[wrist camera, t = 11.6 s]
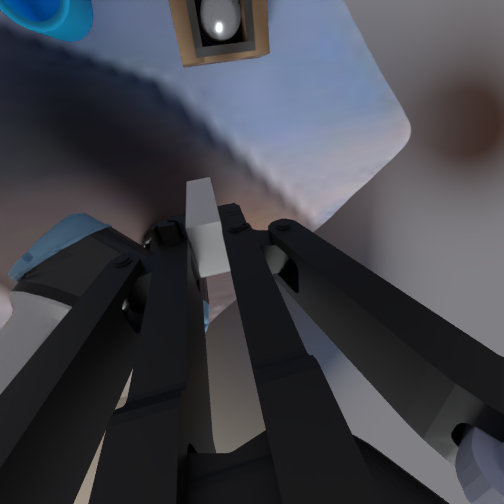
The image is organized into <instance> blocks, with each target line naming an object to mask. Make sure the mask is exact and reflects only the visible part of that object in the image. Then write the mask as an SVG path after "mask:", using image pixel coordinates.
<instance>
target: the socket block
mask: <svg viewBox="0 0 504 504" xmlns="http://www.w3.org/2000/svg"><path fill="white" fill-rule="evenodd" d="M238 3H239V6H240V11H241V19H240V24H239V27H238V29H237V34H238V43H232V44H224V45H216V46H208V47H202V42H201V36H200V30H199V25H198V19H197V13H196V7H195V2H194V0H169V4H170V9H171V14H172V18H173V23H174V28H175V32H176V37H177V41H178V46H179V51H180V55H181V60H182V64H183V67H191V66H199V65H206V64H214V63H221V62H229V61H237V60H244V59H252V58H259V57H262V56H264V55H267V54H269V53H270V49H269V32H268V15H267V0H238Z"/></svg>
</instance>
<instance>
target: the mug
mask: <svg viewBox="0 0 504 504" xmlns="http://www.w3.org/2000/svg"><path fill="white" fill-rule="evenodd" d="M0 10H1V11H2V12H3V13H4V14H6V15H7V16H8V17H9V18H11V19H12V20H13V21H14V22H16V23H17V24H19V25H21V26H23V27H25V28H27V29H29V30H32V31H35V32H38V33H41V34H44V35H47V36H50V37H53V38H56V39H59V40H63V41H69V42H72V41H77V40H81V39H82V38H83V37H85V36H86V35H87V34H88V32H89V30H90V28H91V27H92V20H93V10H92V3H91V0H0Z"/></svg>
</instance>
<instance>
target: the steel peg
mask: <svg viewBox="0 0 504 504" xmlns="http://www.w3.org/2000/svg"><path fill="white" fill-rule="evenodd" d="M240 19H241V11H240V6H239V3H238V0H202V2H201V8H200V17H199V25H200V30H201V33H202V35H203V37H204V38H205V39H206V40H207V41H208V42H209V43H210V44H212V45H214V46H216V45H224V44H226V43H227V42H228V41H229V40H230V39H231V37H232V36H233V35H234V34H235V33H236V31H237V29H238V27H239V24H240Z"/></svg>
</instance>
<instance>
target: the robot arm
mask: <svg viewBox="0 0 504 504" xmlns="http://www.w3.org/2000/svg"><path fill="white" fill-rule="evenodd" d="M228 271H231V275H232V280H233V284H234V289H235V293H236V297H237V302H238V306H239V311H240V315H241V320H242V324H243V328H244V333H245V338H246V342H247V347H248V351H249V355H250V360H251V364H252V369H253V374H254V378H255V382H256V387H257V392H258V396H259V401H260V405H261V410H262V414H263V419H264V423H265V427H266V430H265V431H264V432H262V433H261V434H259V435H258V436H256V437H254V438H253V439H251V440H250V441H249V442H247V443H245V444H244V445H242V446H241V447H239V448H238V449H236V450H235V451H233V452H230V453H216V450H215V446H214V442H213V434H212V421H211V407H210V394H209V379H208V366H207V353H206V352H207V350H206V337H205V332H206V331H207V328H208V324H209V312H210V307H209V300H208V290H207V281H206V277H207V276H211V275H215V274H220V273H224V272H228ZM272 273H273V275H272ZM273 276H274V277H273ZM9 277H10V278H11V279H12V281H13V282H19V283H18V284H17V285H16V286H15V288H14V289H13V290H12V291H11V292H10V294H9V299H10V302H11V305H12V308H13V312H12V316H11V317H10V318H9V320H8V321H7V322H6V323H5V325H4V326H3V327H2V329H1V330H0V504H73V503H74V501H75V499H76V496H77V494H78V492H79V490H80V487H81V485H82V483H83V481H84V478H85V476H86V474H87V471H88V469H89V467H90V465H91V462H92V460H93V458H94V456H95V453H96V451H97V449H98V446H99V444H100V442H101V440H102V437H103V435H104V433H105V431H106V433H105V437H104V441H103V445H102V449H101V453H100V457H99V462H98V466H97V470H96V474H95V479H94V483H93V487H92V491H91V495H90V499H89V503H88V504H449V503H448V502H446V501H445V500H444V499H443V498H441V497H440V496H438V495H437V494H436V493H434V492H433V491H432V490H430V489H429V488H428V487H426V486H425V485H424V484H422V483H421V482H420V481H418V480H417V479H416V478H414V477H413V476H412V475H410V474H409V473H408V472H406V471H405V470H404V469H402V468H401V467H400V466H398V465H397V464H396V463H394V462H393V461H392V460H390V459H389V458H388V457H386V456H385V455H384V454H382V453H381V452H380V451H378V450H377V449H375V448H374V447H373V446H371V445H370V444H369V443H367V442H365V441H363V440H362V439H360V438H358V437H356V436H354V435H352V433H351V431H350V429H349V427H348V425H347V423H346V420H345V419H344V416H343V414H342V412H341V410H340V408H339V406H338V404H337V402H336V399H335V397H334V395H333V393H332V391H331V388H330V386H329V384H328V382H327V380H326V378H325V376H324V373H323V371H322V369H321V367H320V365H319V363H318V362H317V360H316V358H315V357H314V356H313V355H309V354H308V353H307V351H306V349H305V347H304V345H303V343H302V340H301V338H300V336H299V334H298V331H297V329H296V327H295V325H294V322H293V320H292V318H291V316H290V313H289V311H288V309H287V306H286V304H285V302H284V300H283V298H282V295H281V293H280V291H279V288H278V286H277V284H276V282H275V279H276V280H277V281H278V282H279V283H280V285H281V286H282V287H283V288H284V289H285V290H286V291H287V292H288V293H289V294H290V296H291V297H292V298H293V299H294V300H295V301H296V302H297V303H298V304H299V305H300V307H301V308H303V310H304V311H305V312H306V313H307V314H308V315H309V316H310V317H311V319H312V320H313V321H314V322H315V323H316V324H317V325H318V326H319V327H320V328H321V329H322V330H323V332H324V333H325V334H326V335H327V336H328V337H329V338H330V339H331V340H332V342H333V343H334V344H335V345H336V346H337V347H338V348H339V349H340V350H341V351H342V353H344V355H345V356H346V357H347V358H348V359H349V360H350V361H351V362H352V363H353V365H354V366H355V367H356V368H357V369H358V370H359V371H360V372H361V373H362V374H363V375H364V377H365V378H366V379H367V380H368V381H369V382H370V383H371V384H372V385H373V386H374V388H375V389H376V390H377V391H378V392H379V393H380V394H381V395H382V396H383V397H384V399H385V400H386V401H387V402H388V403H389V404H390V405H391V406H392V407H393V408H394V409H395V411H396V412H397V413H398V414H399V415H400V416H401V417H402V418H403V419H404V420H405V421H406V422H407V423H408V424H409V425H410V427H411V428H413V430H414V431H416V433H417V434H418V435H420V437H421V438H422V439H423V440H425V441H426V442H427V443H428V444H429V445H430V446H431V447H433V448H434V449H435V450H436V451H437V452H439V454H441V455H442V456H443V457H444V458H445V459H446V460H448V461H449V462H450V463H452V464H453V465H454V466H455V468H456V472H457V477H458V479H459V481H460V483H461V486H462V488H463V491H464V493H465V495H466V498H467V499H468V501H469V502H470V503H471V504H504V357H502V356H500V355H498V354H496V353H495V352H493V351H492V350H490V349H489V348H487V347H486V346H484V345H483V344H481V343H480V342H478V341H477V340H475V339H474V338H472V337H470V336H469V335H468V334H466V333H464V332H463V331H462V330H460V329H459V328H457V327H455V326H454V325H452V324H451V323H449V322H448V321H446V320H445V319H443V318H442V317H440V316H439V315H437V314H436V313H434V312H433V311H431V310H430V309H428V308H427V307H425V306H424V305H422V304H420V303H419V302H418V301H416V300H415V299H413V298H411V297H410V296H408V295H407V294H405V293H404V292H402V291H401V290H399V289H398V288H396V287H395V286H393V285H391V284H390V283H389V282H387V281H386V280H384V279H383V278H381V277H380V276H378V275H377V274H375V273H373V272H372V271H371V270H369V269H367V268H366V267H364V266H363V265H361V264H360V263H358V262H357V261H355V260H354V259H352V258H351V257H349V256H348V255H346V254H345V253H343V252H342V251H340V250H339V249H337V248H336V247H334V246H333V245H331V244H330V243H328V242H326V241H325V240H323V239H322V238H320V237H319V236H317V235H316V234H314V233H313V232H311V231H310V230H308V229H307V228H305V227H304V226H302V225H301V224H299V223H298V222H296V221H294V220H290V219H279V220H276V221H274V222H272V223H271V224H270V225H269V226H268V230H254V229H252V227H251V225H250V224H249V223H246V220H245V218H244V216H243V214H242V211H241V209H240V206H239V205H237V204H235V203H232V204H227V205H222V206H217V205H216V200H215V196H214V192H213V188H212V184H211V179H210V177H208V178H202V179H197V180H192V181H187V188H186V214H182V215H177V216H172V217H171V218H170V219H167V220H163V221H161V222H158V223H156V224H155V225H154V226H152V228H151V232H150V233H149V234H148V236H147V237H146V238H145V240H144V242H143V245H140V244H138V243H137V242H135V241H133V240H132V239H130V238H128V237H127V236H125V235H123V234H122V233H120V232H118V231H117V230H115V229H114V228H112V226H111V225H109V224H104V223H102V222H100V221H99V220H97V219H95V218H93V217H91V216H89V215H87V214H84V213H75V214H72V215H70V216H68V217H66V218H64V219H63V220H62V221H60V222H59V223H58V224H56V225H55V226H54V227H53V228H51V229H50V230H49V231H48V232H47V233H46V234H44V235H43V236H42V237H41V238H40V239H39V240H38V241H37V242H36V243H35V244H34V245H33V246H32V247H31V248H30V249H29V250H28V251H27V253H25V254H24V255H23V256H22V257H21V258H20V259H19V260H18V261H17V262H16V263H15V264H14V265H13V267H12V268H11V269H10V271H9ZM274 278H275V279H274ZM132 369H133V372H132V377H131V383H130V388H129V393H128V398H127V401H126V403H125V405H124V406H123V407H121V408H118V409H116V410H115V408H116V406H117V403H118V401H119V399H120V396H121V394H122V392H123V390H124V387H125V385H126V383H127V381H128V378H129V376H130V374H131V371H132ZM114 410H115V411H114Z"/></svg>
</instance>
